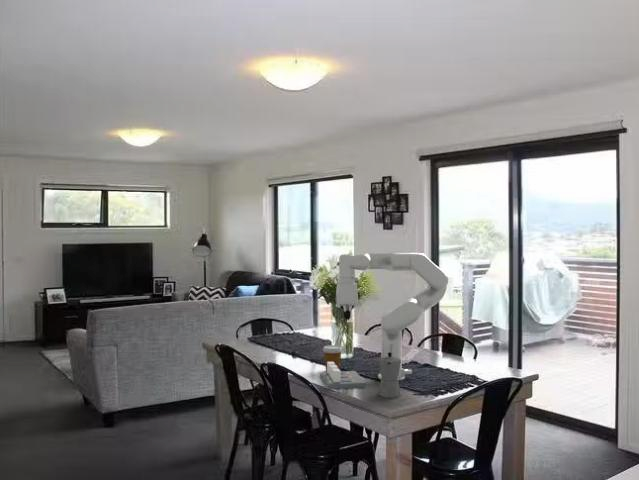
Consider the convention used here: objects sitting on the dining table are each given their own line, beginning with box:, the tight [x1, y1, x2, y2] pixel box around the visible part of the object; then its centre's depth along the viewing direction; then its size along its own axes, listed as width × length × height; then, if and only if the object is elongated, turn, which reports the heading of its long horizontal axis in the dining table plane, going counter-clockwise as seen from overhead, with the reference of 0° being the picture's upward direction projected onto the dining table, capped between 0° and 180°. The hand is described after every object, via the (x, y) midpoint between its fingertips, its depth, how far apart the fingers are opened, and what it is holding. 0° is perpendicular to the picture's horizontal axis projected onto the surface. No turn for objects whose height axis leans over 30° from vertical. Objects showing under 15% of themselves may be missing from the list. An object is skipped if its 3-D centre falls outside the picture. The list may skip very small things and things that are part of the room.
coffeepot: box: [378, 352, 402, 399], centre depth 257 cm, size 15×9×18 cm, turn 171°
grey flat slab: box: [319, 370, 367, 390], centre depth 278 cm, size 17×22×2 cm
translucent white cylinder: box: [402, 348, 421, 365], centre depth 315 cm, size 6×6×25 cm
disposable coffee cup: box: [322, 344, 343, 372], centre depth 297 cm, size 10×10×12 cm
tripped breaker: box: [332, 368, 342, 382], centre depth 270 cm, size 3×4×5 cm
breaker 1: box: [327, 362, 335, 375], centre depth 284 cm, size 3×4×5 cm
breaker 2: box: [330, 365, 338, 378], centre depth 277 cm, size 3×4×5 cm
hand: (347, 319), depth 287 cm, fingers closed
